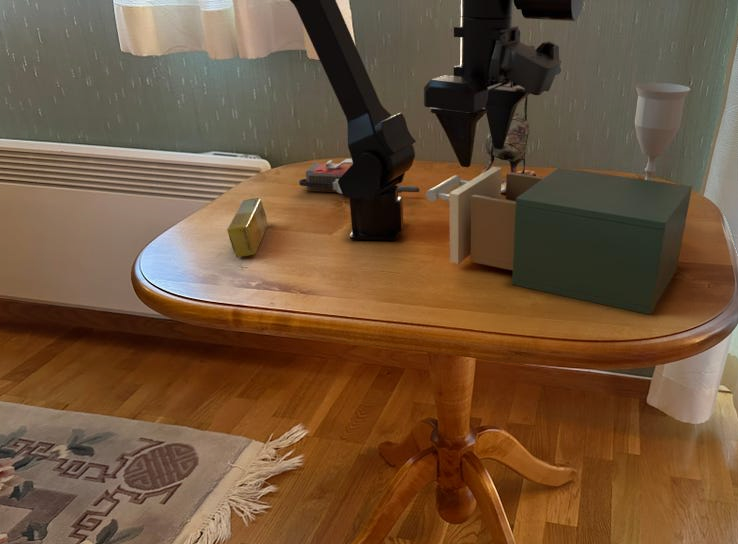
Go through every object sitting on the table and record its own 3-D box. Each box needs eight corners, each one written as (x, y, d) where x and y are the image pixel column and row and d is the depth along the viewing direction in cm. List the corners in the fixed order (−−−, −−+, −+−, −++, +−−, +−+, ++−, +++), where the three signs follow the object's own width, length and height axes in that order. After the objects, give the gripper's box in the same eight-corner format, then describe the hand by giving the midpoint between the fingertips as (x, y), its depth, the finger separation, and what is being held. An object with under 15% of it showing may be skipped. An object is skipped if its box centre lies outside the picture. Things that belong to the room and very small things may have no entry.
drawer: (416, 255, 86) (414, 187, 81) (461, 224, 95) (461, 161, 90) (568, 287, 78) (575, 214, 73) (600, 250, 87) (608, 183, 83)
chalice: (614, 218, 100) (631, 89, 90) (623, 204, 105) (639, 81, 96) (665, 225, 98) (687, 94, 88) (671, 210, 103) (693, 85, 93)
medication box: (249, 226, 97) (242, 199, 95) (268, 224, 97) (261, 196, 95) (234, 258, 87) (226, 228, 84) (256, 255, 87) (247, 225, 85)
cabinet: (511, 284, 81) (515, 198, 75) (552, 245, 91) (558, 167, 85) (650, 315, 74) (665, 222, 69) (676, 269, 85) (692, 186, 79)
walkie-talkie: (295, 195, 108) (418, 200, 106) (291, 168, 106) (417, 172, 104) (311, 179, 116) (427, 183, 114) (308, 153, 113) (426, 157, 112)
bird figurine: (481, 180, 116) (483, 53, 105) (547, 181, 115) (556, 53, 105) (479, 195, 109) (481, 60, 98) (550, 196, 108) (559, 61, 98)
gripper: (519, 29, 65) (511, 188, 73) (583, 14, 79) (570, 149, 87) (419, 22, 69) (422, 173, 78) (497, 8, 83) (492, 137, 92)
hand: (482, 157), depth 83 cm, fingers open, 9 cm apart
